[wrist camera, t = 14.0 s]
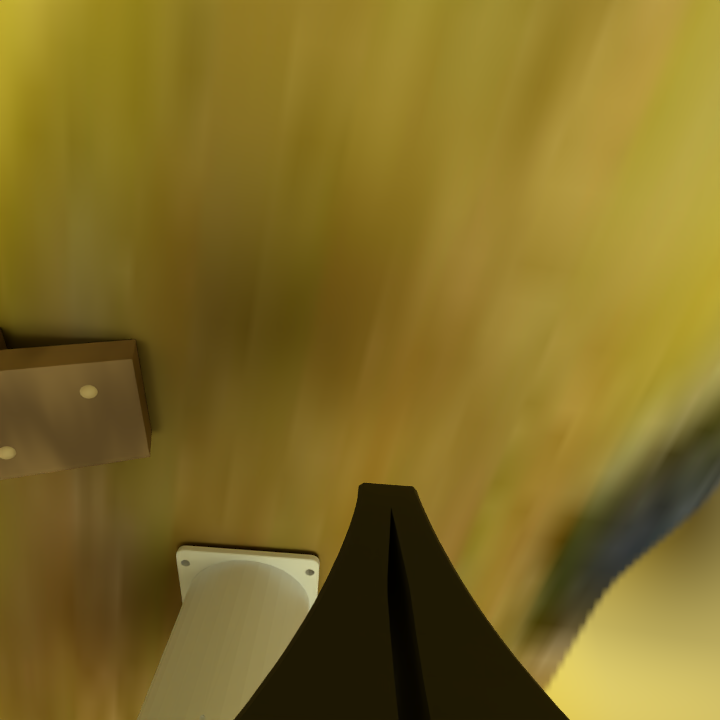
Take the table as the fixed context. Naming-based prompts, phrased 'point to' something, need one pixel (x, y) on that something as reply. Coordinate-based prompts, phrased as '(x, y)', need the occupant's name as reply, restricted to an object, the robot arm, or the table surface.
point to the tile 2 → (2, 342)
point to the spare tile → (71, 407)
